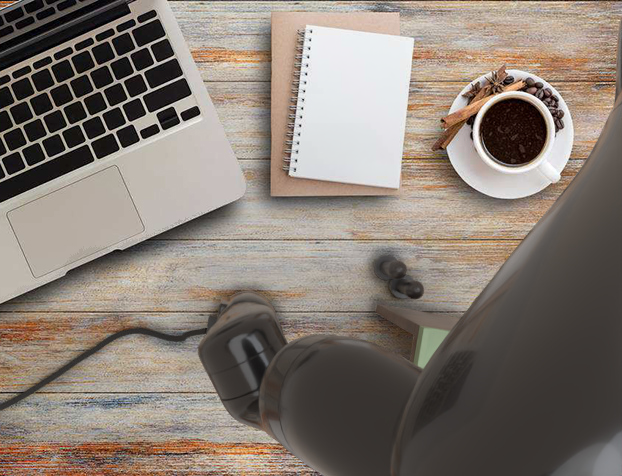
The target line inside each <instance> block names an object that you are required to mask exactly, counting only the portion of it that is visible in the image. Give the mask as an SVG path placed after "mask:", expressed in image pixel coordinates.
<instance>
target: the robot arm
mask: <svg viewBox="0 0 622 476" xmlns="http://www.w3.org/2000/svg"><path fill="white" fill-rule="evenodd" d="M615 47H616V48H615V88H614V99H613V106H612V108H611V111H610V113H609V115H608V117H607V119H606V121H605V122H604V125H603V127H602V129H601V131H600V133H599V136H598V138H597V140H596V142H595V144H594V145H593V147H592V149H591V151H590V152H589V154H588V156H587V158H586V159H585V161H584V162H583V164H582V166H581V167H580V168H579V170H578V172H576V174H575V176H574V177H573V178H572V180H571V181H570V182H569V184H567V186H566V187H565V189H563V191H562V192H561V193H560V194H559V196H558V197H557V198H556V200H554V202H553V203H552V205H551V206H549V208H548V209H547V210H546V211H545V212H544V214H543V215H542V216H541V217H540V218H539V219H538V221H537V222H536V223H535V224H534V226H533V227H532V228H531V229H530V230H529V232H527V234H526V235H525V236H524V238H523V239H522V240H521V241H520V243H518V245H517V246H516V247H515V248H514V250H512V252H511V253H510V254H509V256H508V257H507V258H506V260H505V261H503V263H502V265H501V266H500V267H499V269H498V270H497V272H495V274H494V275H493V277H492V278H490V280H489V281H488V283H487V284H486V285H485V286H484V288H483V289H482V290H481V292H480V293H479V294H478V295H477V297H476V298H474V300H473V301H472V302H471V304H470V305H469V307H467V309H466V310H465V311H464V313H463V314H462V316H460V317H459V318H460V319H459V321H458V322H457V323H456V324H455V326H454V327H453V328H452V330H451V331H450V332H449V333H448V335H447V336H446V337H445V339H444V340H443V341H442V343H441V344H440V345H439V347H438V348H437V350H436V351H435V352H434V354H433V355H432V357H431V358H430V360H429V361H428V363H427V364H426V366H425V367H424V369H422V368H421V367H419V366H417V365H416V364H414V363H412V362H411V361H410V359H407V358H405V356H404V357H403V356H402V355H400V354H399V353H397V352H395V351H393V350H391V349H388V348H386V347H384V346H382V345H380V344H378V343H375V342H372V341H368V340H366V339H361V338H358V337H355V336H354V337H353V336H346V335H336V334H325V333H324V334H320V333H319V334H317V333H316V334H308V335H304V336H300V337H298V338H295V339H293V340H291V341H289V342H288V340H287V338H286V336H285V333H284V329H283V327H282V325H281V323H280V320H279V317H278V315H277V310H276V309H275V306H274V305H273V303H272V302H271V300H270V299H269V298H268V297H266V296H265V295H264V294H262V293H260V292H257V291H254V290H241V291H237V292H235V293H233V294H231V295H230V296H225V295H224V296H222V297H221V299H220V302H219V304H218V312H217V314H212V313H211V314H209V315H208V320H207V324H206V325H207V326H206V327H201V328H195V329H192V330H191V329H190V330H187V331H185V332H183V333H182V335H171V334H166V333H163V332H160V331H157V330H153V329H148V328H143V327H134V328H127V329H126V328H125V329H123V330H120V331H117V332H115V333H113V334H112V335H109V336H108V337H106V338H105V339H102V341H100V342H99V343H97V344H96V345H94V346H93V347H91V348H90V349H88V350H86V351H85V352H83V353H82V354H80V355H78V356H77V357H76V358H74V359H72V360H70V361H69V362H68V363H66V364H65V365H64V366H62V367H61V368H59V369H57V370H56V371H55V372H53V373H51V374H50V375H49V376H47V377H45V378H44V379H42V380H40V381H38V382H37V383H36V384H35V385H33V386H32V387H30V388H28V389H27V390H24V392H22V393H20V394H18V395H17V396H14V397H13V398H10V399H9V400H7V401H5V402H2V403H0V411H3V410H5V409H7V408H9V407H12V406H13V405H15V404H17V403H19V402H20V401H23V400H24V399H26V398H27V397H29V396H30V395H33V394H34V393H36V392H37V391H39V390H40V389H42V388H43V387H45V386H46V385H48V384H50V383H51V382H53V381H55V380H56V379H57V378H59V377H61V376H62V375H63V374H66V372H68V371H69V370H71V369H72V368H73V367H75V366H77V365H78V364H79V363H81V362H83V361H84V360H86V359H88V358H89V357H91V356H92V355H94V354H95V353H97V352H99V351H100V350H102V349H103V348H104V347H106V346H107V345H109V344H111V343H112V342H114V341H115V340H118V339H120V338H122V337H125V336H129V335H146V336H151V337H154V338H156V339H160V340H164V341H167V342H177V343H181V342H185V341H186V340H187V339H189V338H191V337H195V336H201V335H204V336H203V338H202V339H201V340H200V342H199V344H198V345H197V356H198V359H199V361H200V363H201V365H202V367H203V369H204V371H205V373H206V375H207V376H208V379H209V380H210V382H211V385H212V386H213V388H214V390H215V392H216V394H217V396H218V398H219V400H220V402H221V404H222V405H223V407H224V409H225V410H226V411H227V413H228V414H229V416H230V417H231V418H233V419H234V420H235V421H237V422H238V423H240V424H242V425H245V426H247V427H251V428H254V429H256V430H259V431H262V432H264V433H266V434H267V435H268V436H269V437H270V438H272V439H273V440H274V441H276V442H277V443H279V444H280V445H281V447H283V448H284V449H285V450H286V451H288V452H289V453H290V454H291V455H293V456H294V457H295V458H297V459H298V460H299V461H301V462H302V463H304V464H305V465H306V466H307V467H309V468H310V469H312V470H313V471H315V472H317V473H318V474H319V475H322V476H622V16H621V17H620V21H619V24H618V28H617V37H616V46H615Z"/></svg>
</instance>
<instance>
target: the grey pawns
mask: <svg viewBox="0 0 622 476" xmlns="http://www.w3.org/2000/svg"><path fill="white" fill-rule="evenodd" d="M373 272H374V274H375V276H377V277H378V278H379V279H380V280H384V281H389V283H388V284H389V287H388V288H389V291H390V293H391V294H392V295H393V296H394V297H395V298H398V299H401V300H405V299H411V300H418V299H421V298H422V297H423V295H424V293H425V287H424V284H423V283H422V282H421V281H419V280H416V279H414V278H413V276H411V275H410V274H408V266H407V264H406V263H405V262H404V261H402V260H398V259H397V258H396V257H395V256H394V255H392V254H391V255H390V254H383V255H380V256H378V257H377V258H376V259H375V261H374V262H373Z"/></svg>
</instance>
